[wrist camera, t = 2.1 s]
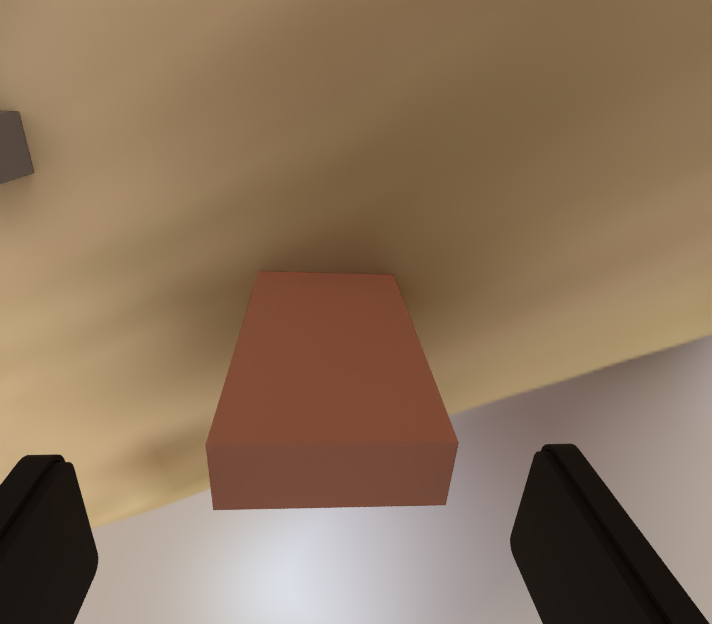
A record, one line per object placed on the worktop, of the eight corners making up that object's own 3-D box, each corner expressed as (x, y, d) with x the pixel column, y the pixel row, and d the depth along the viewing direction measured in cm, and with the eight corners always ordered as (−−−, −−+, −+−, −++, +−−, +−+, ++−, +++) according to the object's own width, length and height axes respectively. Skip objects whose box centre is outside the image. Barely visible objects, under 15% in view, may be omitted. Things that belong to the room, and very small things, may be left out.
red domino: (258, 271, 17) (205, 444, 9) (393, 274, 17) (458, 442, 9) (260, 314, 18) (213, 510, 10) (389, 316, 18) (445, 504, 10)
